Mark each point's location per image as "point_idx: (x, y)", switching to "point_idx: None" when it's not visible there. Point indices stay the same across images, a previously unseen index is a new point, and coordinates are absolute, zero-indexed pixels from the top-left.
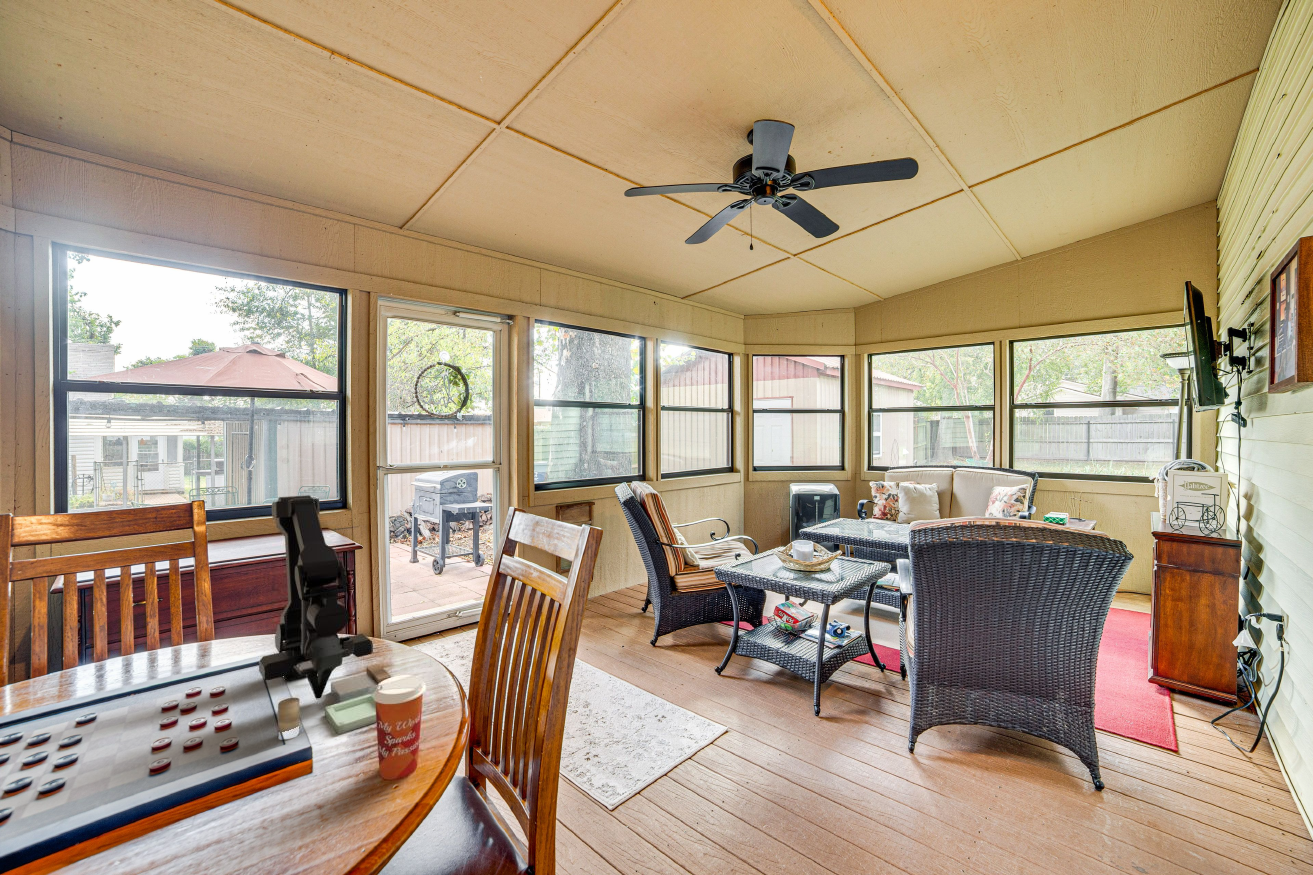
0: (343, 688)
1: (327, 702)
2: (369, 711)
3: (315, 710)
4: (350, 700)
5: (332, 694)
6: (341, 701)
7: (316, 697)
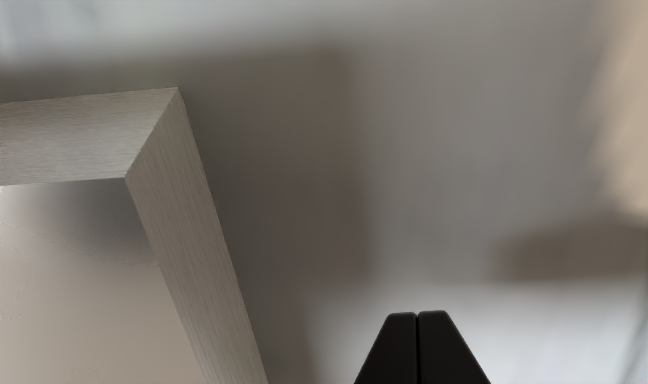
0: (97, 337)
1: (320, 239)
2: None
3: (486, 113)
4: None
5: (261, 364)
6: (138, 111)
7: (450, 321)
